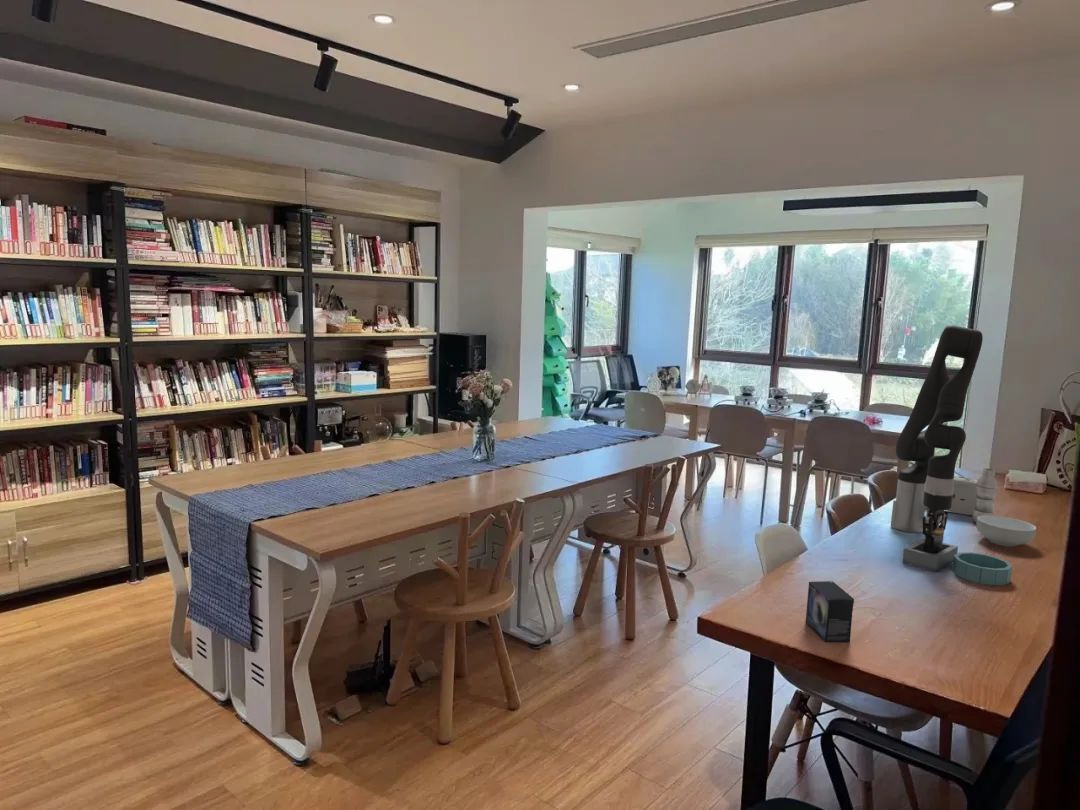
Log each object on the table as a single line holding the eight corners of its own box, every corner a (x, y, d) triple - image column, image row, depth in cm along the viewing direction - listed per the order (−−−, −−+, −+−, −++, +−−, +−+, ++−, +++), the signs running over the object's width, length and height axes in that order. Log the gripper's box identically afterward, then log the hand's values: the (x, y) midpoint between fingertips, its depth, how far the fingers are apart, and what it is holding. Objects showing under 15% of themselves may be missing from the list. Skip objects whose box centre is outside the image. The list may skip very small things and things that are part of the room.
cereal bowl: (1043, 553, 234) (1046, 532, 233) (985, 548, 238) (988, 527, 237) (1020, 537, 251) (1023, 517, 250) (966, 532, 254) (969, 512, 253)
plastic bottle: (996, 527, 261) (1003, 472, 258) (975, 525, 262) (982, 470, 260) (989, 522, 267) (996, 468, 264) (968, 520, 269) (975, 466, 266)
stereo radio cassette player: (984, 514, 278) (991, 462, 276) (983, 519, 272) (990, 466, 269) (922, 504, 289) (928, 454, 287) (920, 508, 283) (926, 457, 280)
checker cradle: (902, 562, 221) (903, 548, 220) (923, 551, 232) (925, 538, 231) (936, 572, 214) (937, 557, 213) (956, 560, 225) (958, 546, 224)
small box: (803, 622, 177) (807, 580, 175) (829, 622, 177) (833, 580, 176) (823, 642, 166) (827, 598, 165) (851, 642, 167) (855, 598, 165)
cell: (919, 550, 222) (922, 524, 221) (926, 547, 226) (929, 521, 224) (937, 555, 218) (940, 528, 217) (944, 551, 222) (947, 525, 221)
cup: (945, 573, 213) (947, 558, 212) (963, 563, 222) (964, 549, 222) (1000, 589, 203) (1002, 573, 202) (1016, 577, 212) (1018, 562, 211)
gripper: (934, 485, 227) (928, 538, 229) (915, 492, 217) (909, 547, 220) (960, 490, 222) (954, 545, 224) (943, 497, 212) (936, 554, 214)
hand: (932, 546), depth 222 cm, fingers closed on cell, 5 cm apart
